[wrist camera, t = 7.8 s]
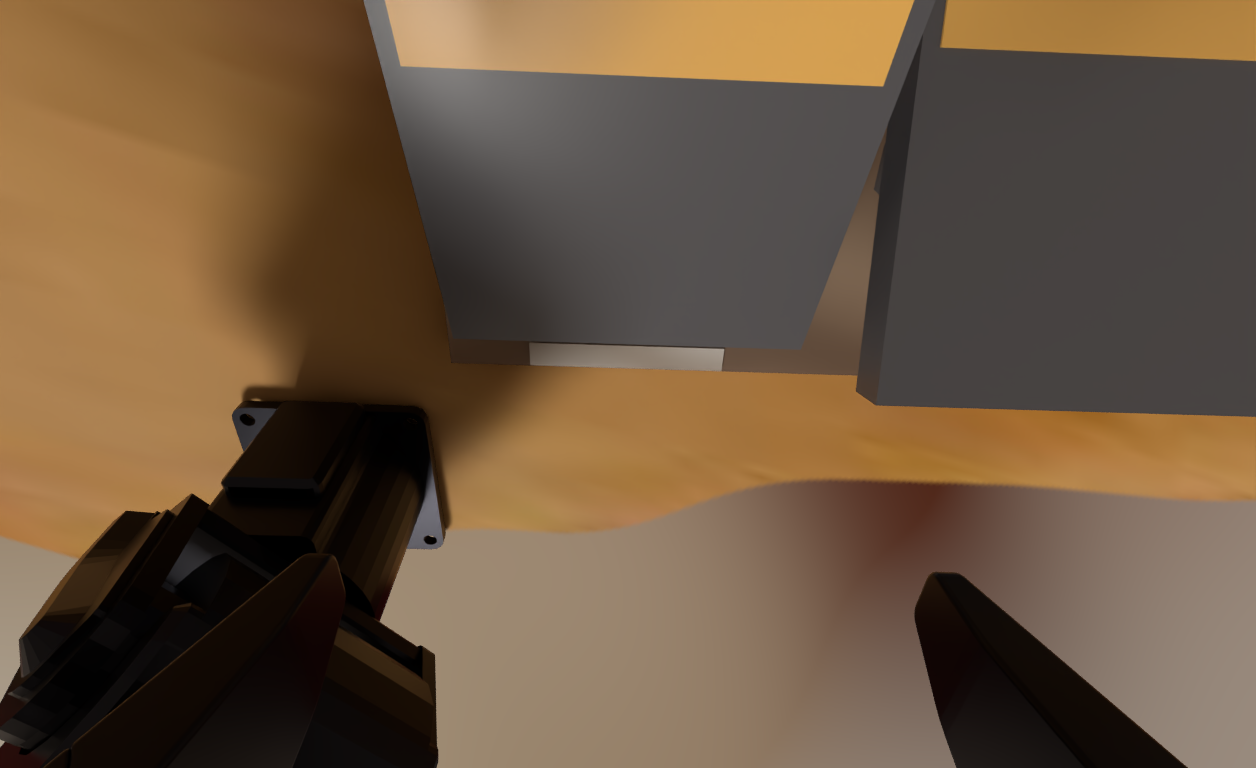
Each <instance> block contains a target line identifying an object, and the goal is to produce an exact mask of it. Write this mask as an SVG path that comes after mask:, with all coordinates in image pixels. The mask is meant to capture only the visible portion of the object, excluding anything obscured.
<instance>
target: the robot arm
mask: <svg viewBox="0 0 1256 768" xmlns="http://www.w3.org/2000/svg"><path fill="white" fill-rule="evenodd" d="M246 414H249V415H251V416H253V417H254V419H252V418H250V417H248V416H247V415H246ZM409 418H410V419H414V420H415V421H417V424H413V423H410V422H409V421H408V420H407V419H409ZM232 419H233V422H234V425H235V428H236V431H237V434H238V437H239V440H240V443H241V446H242V448H243V451H244V452H243V453H242V455H241V456H240V457H239V459H238V460H237V461H236V462H235V464H234V465H233V466H232V468H231V469H230V470H229V471H228V473H227V474H226V475H225V477H224V478H223V479H222V482H221V484H222V487H223V489H222V490H221V491H220V493H219V494H218V495H217V497H216V498H215V499H214V501H213V502H212V503H211V505H209V504H207V503H206V502H204V501H203V500H201V499H200V498H198V497H197V496H195V495H194V494H192V493H191V494H190V495H189V496H187V497H186V498H185V499H184V500H183V501H181V502H180V503H179V504H178V505H176V506H175V507H174V508H173V509H172V510H170V511H169V510H168V509H167V510H165V511H163V512H162V513H160V512H158V511H157V512H155V513H147V512H135V511H125V512H124V513H123V514H122V515H120V516H119V517H118V518H117V519H116V520H115V521H113V522H112V524H111V525H110V526H109V527H108V528H107V529H106V530H105V531H104V532H103V533H102V535H101V536H100V537H99V538H98V539H97V540H96V541H95V542H94V543H93V544H92V546H91V547H90V548H89V549H88V550H87V551H86V552H85V553H84V554H83V555H82V557H81V558H80V559H79V560H78V561H77V562H76V563H75V565H74V566H73V567H72V568H71V569H70V570H69V572H68V573H67V574H66V575H65V577H64V578H63V579H62V580H61V581H60V583H59V584H58V585H57V587H56V588H55V590H54V591H53V592H52V594H51V595H50V597H49V598H48V600H47V601H46V602H45V604H44V605H43V606H42V608H41V609H40V611H39V612H38V614H37V615H36V616H35V618H34V619H33V621H32V622H31V623H30V625H29V626H28V627H27V629H26V630H25V632H24V633H23V634H22V636H21V637H20V639H19V650H20V667H19V669H18V671H17V673H16V674H15V676H14V678H13V680H12V682H11V684H10V686H9V687H8V689H7V691H6V693H5V695H4V697H3V699H2V701H1V703H0V739H1V740H3V741H5V742H4V744H3V745H2V746H1V747H0V768H436V767H437V764H438V748H437V732H436V731H437V729H436V681H435V655H434V654H433V653H432V652H430V651H429V650H427V649H426V648H424V647H423V646H418V647H417V646H415V645H414V644H412V643H411V642H409V641H408V640H406V639H405V638H403V637H402V636H400V635H399V634H397V633H395V632H394V631H393V630H391V629H389V628H388V627H387V626H385V625H383V624H382V623H381V622H380V619H381V616H382V614H383V611H384V608H385V606H386V603H387V600H388V597H389V595H390V592H391V589H392V587H393V584H394V581H395V579H396V576H397V573H398V570H399V568H400V565H401V562H402V560H403V557H404V554H405V552H406V549H437V548H439V547H441V545H442V544H443V541H444V539H445V534H446V532H445V525H444V519H443V512H442V505H441V499H440V492H439V485H438V479H437V472H436V465H435V459H434V452H433V445H432V439H431V432H430V425H429V419H428V416H427V414H426V412H425V411H424V410H423V409H421V408H419V407H415V406H400V405H366V404H357V403H343V402H309V401H284V402H264V401H246V402H243V403H241V404H240V405H239V406H238V407H237V408H236V409H235V410H234V412H233V414H232ZM428 535H431V536H434V537H430V536H428ZM915 623H916V628H917V632H918V636H919V639H920V644H921V648H922V652H923V656H924V660H925V664H926V668H927V672H928V676H929V680H930V684H931V689H932V692H933V697H934V701H935V704H936V708H937V712H938V716H939V719H940V722H941V725H942V728H943V731H944V734H945V737H946V740H947V743H948V745H949V748H950V751H951V754H952V757H953V759H954V762H955V765H956V768H1188V767H1186V766H1185V765H1184V764H1183V763H1181V762H1180V761H1179V760H1178V759H1177V758H1176V757H1175V756H1173V755H1172V754H1171V753H1170V752H1169V751H1168V750H1166V749H1165V748H1164V747H1163V746H1162V745H1161V744H1159V743H1158V742H1157V741H1156V740H1155V739H1153V738H1152V737H1151V736H1150V735H1149V734H1148V733H1147V732H1145V731H1144V730H1143V729H1142V728H1141V727H1140V726H1138V725H1137V724H1136V723H1135V722H1134V721H1132V720H1131V719H1130V718H1129V717H1127V715H1125V714H1124V713H1123V712H1122V711H1121V710H1120V709H1118V708H1117V707H1116V706H1115V705H1114V704H1113V703H1111V702H1110V701H1109V700H1108V699H1107V698H1105V697H1104V696H1103V695H1102V694H1101V693H1100V692H1099V691H1097V690H1096V689H1095V688H1094V687H1093V686H1092V685H1090V684H1089V683H1088V682H1087V681H1086V680H1084V679H1083V678H1082V677H1081V676H1080V675H1078V674H1077V673H1076V672H1075V671H1074V670H1073V669H1072V668H1070V667H1069V666H1068V665H1067V664H1066V663H1065V662H1063V661H1062V660H1061V659H1060V658H1059V657H1058V656H1056V655H1055V654H1054V653H1053V652H1052V651H1051V650H1049V649H1048V648H1047V647H1046V646H1045V645H1043V644H1042V643H1041V642H1040V641H1039V640H1038V639H1036V638H1035V637H1034V636H1033V635H1031V633H1029V632H1028V631H1027V630H1026V629H1024V627H1022V626H1021V625H1020V624H1019V623H1018V622H1017V621H1015V620H1014V619H1013V618H1012V617H1011V616H1009V615H1008V614H1007V613H1006V612H1005V611H1004V610H1002V609H1001V608H1000V607H999V606H998V605H997V604H995V603H994V602H993V601H992V600H991V599H990V598H988V597H987V596H986V595H985V594H984V593H983V592H981V591H980V590H979V589H978V588H977V587H976V586H974V585H973V584H972V583H971V582H970V581H969V580H967V579H966V578H965V577H964V576H962V575H960V574H958V573H954V572H933V573H931V574H930V575H929V576H928V578H927V580H926V582H925V584H924V587H923V589H922V592H921V594H920V596H919V599H918V601H917V604H916V607H915Z"/></svg>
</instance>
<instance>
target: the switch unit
mask: <svg viewBox="0 0 1256 768" xmlns="http://www.w3.org/2000/svg"><path fill="white" fill-rule="evenodd" d="M887 126H888V125H887ZM886 134H887V128H886V130H885V133H884V135H883V138H882V141H881V143H880V146H879V148H878V151H877V154H876V156H875V159H874V161H873V164H872V167H871V169H870V172H869V174H868V177H867V179H866V182H865V185H864V187H863V190H862V192H861V195H860V198H859V200H858V203H857V205H856V208H855V211H854V213H853V216H852V218H851V221H850V224H849V226H848V229H847V231H846V234H845V236H844V239H843V242H842V244H841V247H840V249H839V252H838V255H837V257H836V260H835V262H834V265H833V268H832V270H831V273H830V275H829V278H828V281H827V283H826V286H825V288H824V291H823V293H822V296H821V299H820V301H819V304H818V306H817V309H816V312H815V314H814V317H813V319H812V322H811V325H810V327H809V330H808V332H807V335H806V337H805V340H804V343H803V345H802V348H801V350H791V349H760V348H729V347H697V346H666V345H635V344H603V343H572V342H541V341H509V340H478V339H453V335H452V332H451V328H450V324H449V320H448V317H447V313H446V309H445V314H446V323H447V331H448V339H449V348H450V356H451V363H472V364H504V365H537V366H569V367H601V368H633V369H665V370H698V371H730V372H762V373H794V374H826V375H858V369H859V361H860V352H861V344H862V335H863V327H864V319H865V310H866V302H867V293H868V285H869V277H870V268H871V260H872V252H873V243H874V235H875V226H876V218H877V210H878V201H879V193H880V185H881V176H882V168H883V159H884V151H885V143H886ZM444 306H445V305H444Z"/></svg>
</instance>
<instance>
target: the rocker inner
mask: <svg viewBox="0 0 1256 768" xmlns="http://www.w3.org/2000/svg"><path fill="white" fill-rule="evenodd" d="M935 1H936V0H364V4H365V8H366V12H367V16H368V19H369V23H370V27H371V31H372V34H373V38H374V42H375V46H376V49H377V53H378V57H379V61H380V64H381V68H382V72H383V76H384V80H385V83H386V87H387V91H388V95H389V98H390V102H391V106H392V110H393V113H394V117H395V121H396V125H397V128H398V132H399V136H400V140H401V143H402V147H403V151H404V155H405V159H406V162H407V166H408V170H409V174H410V177H411V181H412V185H413V189H414V192H415V196H416V200H417V204H418V207H419V211H420V215H421V219H422V223H423V226H424V230H425V234H426V238H427V241H428V245H429V249H430V253H431V256H432V260H433V264H434V268H435V271H436V275H437V279H438V283H439V286H440V290H441V294H442V298H443V302H444V305H445V309H446V313H447V317H448V320H449V324H450V328H451V332H452V335H453V339H478V340H509V341H541V342H572V343H603V344H635V345H666V346H697V347H729V348H760V349H791V350H801V348H802V345H803V343H804V340H805V337H806V335H807V332H808V330H809V327H810V325H811V322H812V319H813V317H814V314H815V312H816V309H817V306H818V304H819V301H820V299H821V296H822V293H823V291H824V288H825V286H826V283H827V281H828V278H829V275H830V273H831V270H832V268H833V265H834V262H835V260H836V257H837V255H838V252H839V249H840V247H841V244H842V242H843V239H844V236H845V234H846V231H847V229H848V226H849V224H850V221H851V218H852V216H853V213H854V211H855V208H856V205H857V203H858V200H859V198H860V195H861V192H862V190H863V187H864V185H865V182H866V179H867V177H868V174H869V172H870V169H871V167H872V164H873V161H874V159H875V156H876V154H877V151H878V148H879V146H880V143H881V141H882V138H883V135H884V133H885V130H886V128H887V125H888V122H889V120H890V117H891V115H892V112H893V110H894V107H895V104H896V102H897V99H898V97H899V94H900V91H901V89H902V86H903V84H904V81H905V78H906V76H907V73H908V71H909V68H910V66H911V63H912V60H913V58H914V55H915V53H916V50H917V47H918V45H919V42H920V40H921V37H922V34H923V32H924V29H925V27H926V24H927V21H928V19H929V16H930V14H931V11H932V9H933V6H934V3H935Z"/></svg>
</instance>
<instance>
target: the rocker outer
mask: <svg viewBox="0 0 1256 768" xmlns="http://www.w3.org/2000/svg"><path fill="white" fill-rule="evenodd" d="M856 392H858V393H859V394H861V395H862V396H863V397H865V398H866V399H868V400H869V401H871V402H872V403H873V404H875V405H882V406H915V407H949V408H982V409H1015V410H1049V411H1082V412H1115V413H1149V414H1182V415H1216V416H1249V417H1256V0H936V1H935V3H934V6H933V9H932V11H931V14H930V16H929V19H928V21H927V24H926V27H925V29H924V32H923V34H922V37H921V40H920V42H919V45H918V47H917V50H916V53H915V55H914V58H913V60H912V63H911V66H910V68H909V71H908V73H907V76H906V78H905V81H904V84H903V86H902V89H901V91H900V94H899V97H898V99H897V102H896V104H895V107H894V110H893V112H892V115H891V117H890V120H889V122H888V126H887V134H886V143H885V151H884V159H883V168H882V176H881V185H880V193H879V201H878V210H877V218H876V226H875V235H874V243H873V252H872V260H871V268H870V277H869V285H868V293H867V302H866V310H865V319H864V327H863V335H862V344H861V352H860V361H859V369H858V377H857V386H856Z"/></svg>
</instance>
